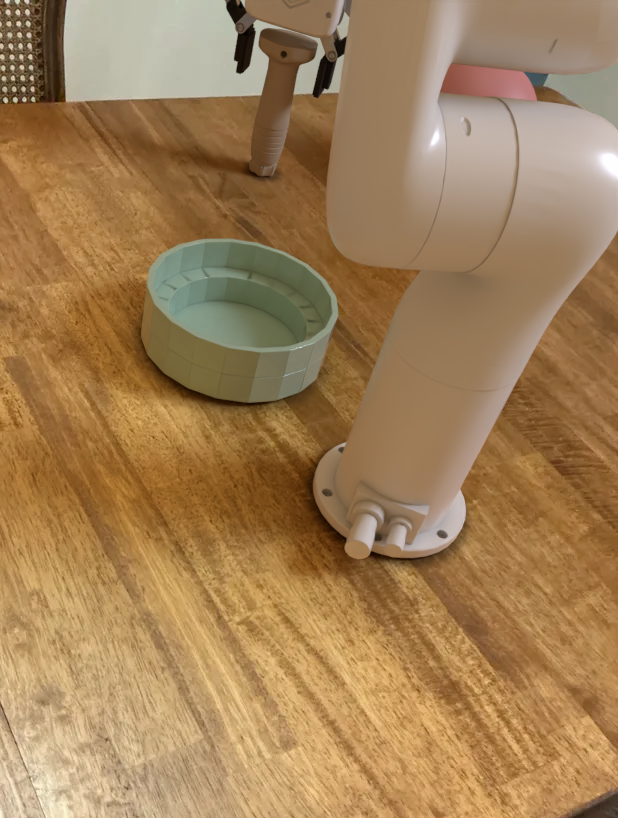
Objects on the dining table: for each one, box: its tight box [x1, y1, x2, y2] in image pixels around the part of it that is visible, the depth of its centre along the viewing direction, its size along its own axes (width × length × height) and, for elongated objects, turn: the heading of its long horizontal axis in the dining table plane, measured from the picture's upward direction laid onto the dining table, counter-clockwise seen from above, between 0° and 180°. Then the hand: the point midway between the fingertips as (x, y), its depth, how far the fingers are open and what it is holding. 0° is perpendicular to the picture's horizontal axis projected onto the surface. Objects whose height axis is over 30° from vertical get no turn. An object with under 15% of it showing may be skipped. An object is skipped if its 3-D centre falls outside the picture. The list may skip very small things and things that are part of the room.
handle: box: [248, 27, 319, 178], centre depth 101 cm, size 5×6×15 cm
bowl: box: [140, 238, 339, 404], centre depth 80 cm, size 17×17×6 cm
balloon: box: [440, 64, 538, 101], centre depth 106 cm, size 15×20×15 cm
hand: (280, 81), depth 99 cm, fingers open, 8 cm apart
